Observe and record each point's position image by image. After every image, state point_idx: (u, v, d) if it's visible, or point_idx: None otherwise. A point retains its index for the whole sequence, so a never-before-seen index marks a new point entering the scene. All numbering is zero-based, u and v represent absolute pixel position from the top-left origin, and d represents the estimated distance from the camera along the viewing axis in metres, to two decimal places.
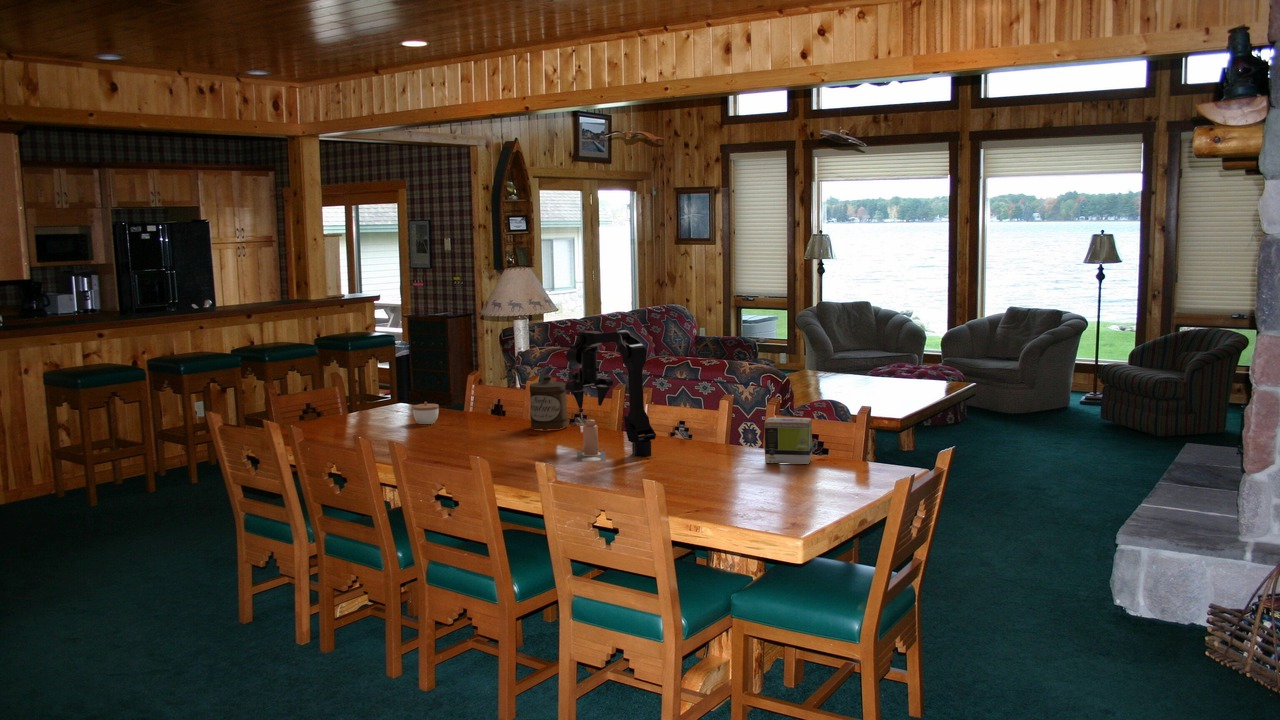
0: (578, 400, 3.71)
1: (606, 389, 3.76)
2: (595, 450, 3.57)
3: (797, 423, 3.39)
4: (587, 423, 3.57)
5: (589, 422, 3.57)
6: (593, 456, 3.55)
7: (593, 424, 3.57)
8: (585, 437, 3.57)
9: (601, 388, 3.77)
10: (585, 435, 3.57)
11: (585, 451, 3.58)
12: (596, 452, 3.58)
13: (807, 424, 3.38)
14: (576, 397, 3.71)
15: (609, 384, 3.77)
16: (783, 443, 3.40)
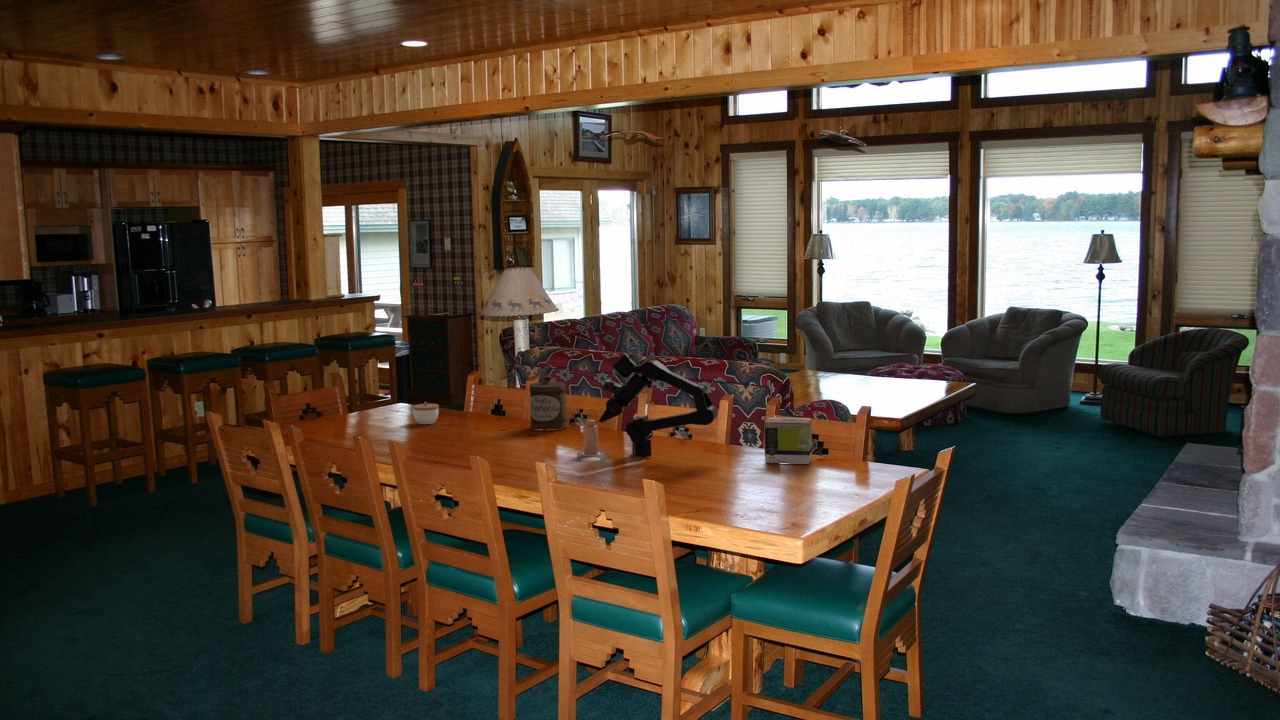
0: (606, 416, 3.50)
1: None
2: (595, 450, 3.57)
3: (797, 423, 3.39)
4: (587, 423, 3.57)
5: (589, 422, 3.57)
6: (593, 456, 3.55)
7: (593, 424, 3.57)
8: (585, 437, 3.57)
9: None
10: (585, 435, 3.57)
11: (585, 451, 3.58)
12: (596, 452, 3.58)
13: (807, 424, 3.38)
14: (606, 412, 3.50)
15: None
16: (783, 443, 3.40)
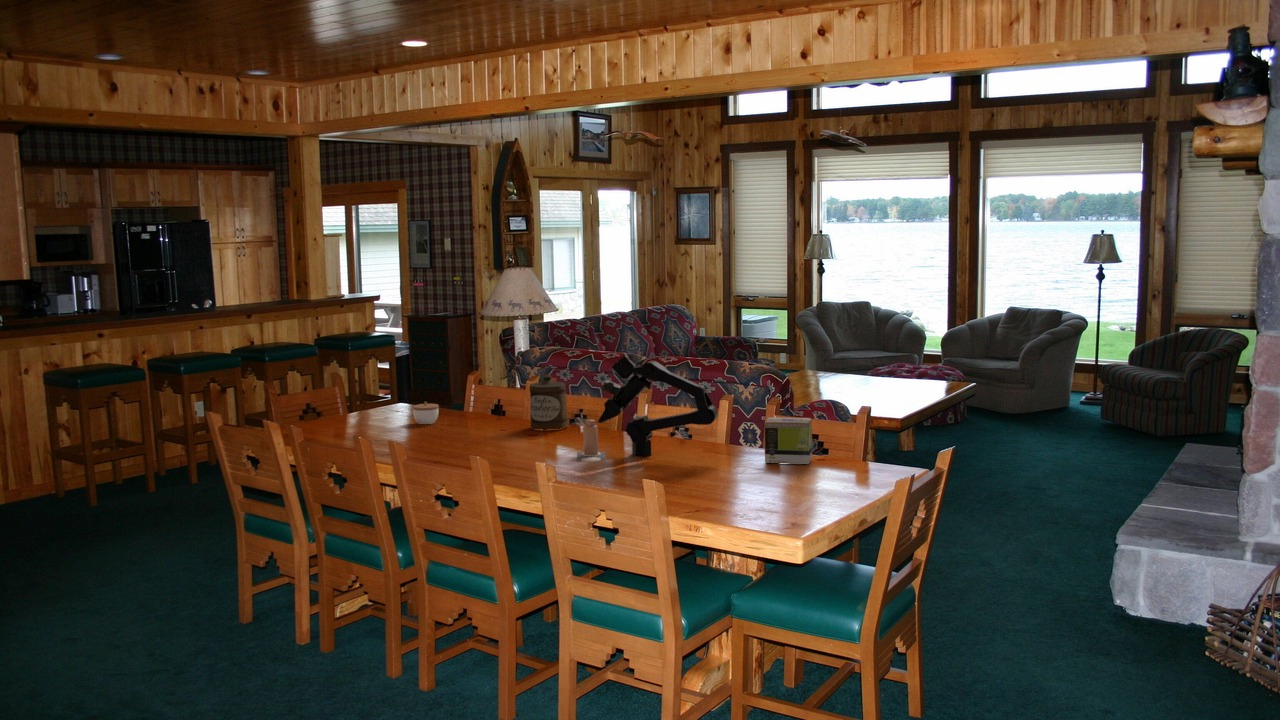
0: (605, 417, 3.51)
1: (622, 410, 3.61)
2: (595, 450, 3.57)
3: (797, 423, 3.39)
4: (587, 423, 3.57)
5: (589, 422, 3.57)
6: (593, 456, 3.55)
7: (593, 424, 3.57)
8: (585, 437, 3.57)
9: None
10: (585, 435, 3.57)
11: (585, 451, 3.58)
12: (596, 452, 3.58)
13: (807, 424, 3.38)
14: (605, 413, 3.51)
15: None
16: (783, 443, 3.40)
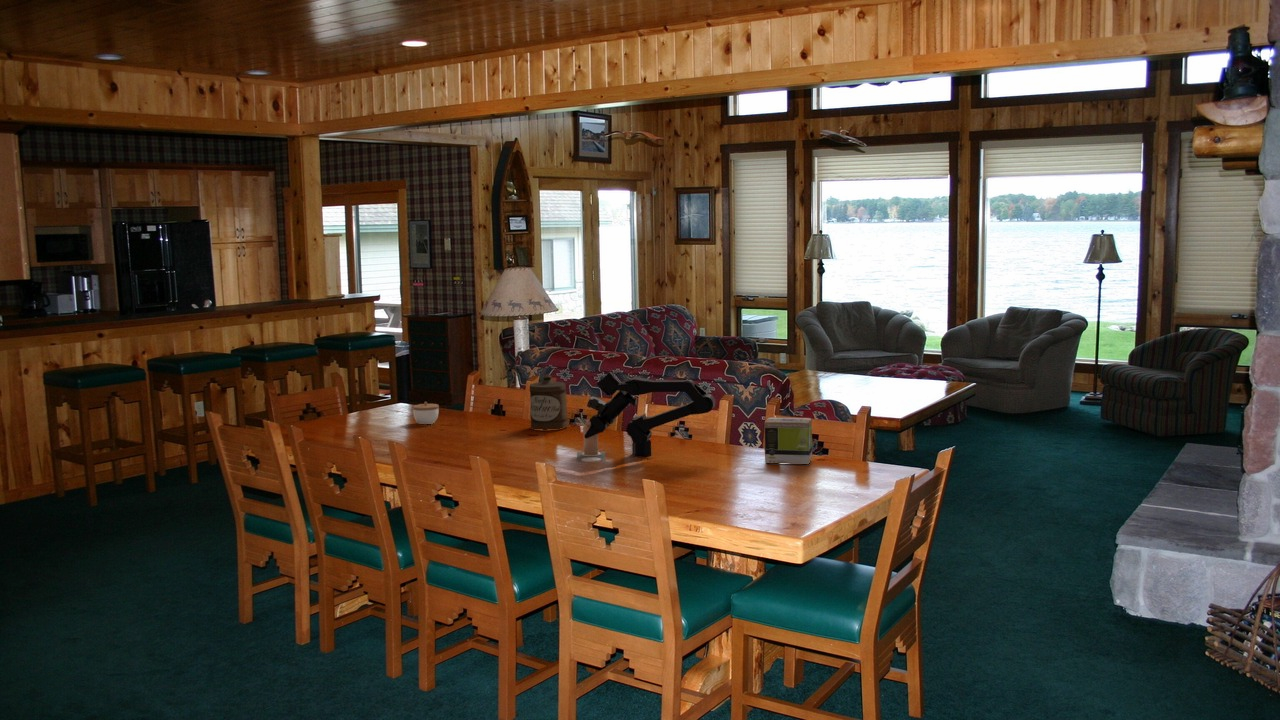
0: (591, 432, 3.55)
1: (606, 427, 3.61)
2: (595, 450, 3.57)
3: (797, 423, 3.39)
4: (587, 423, 3.57)
5: (589, 422, 3.57)
6: (593, 456, 3.55)
7: None
8: None
9: None
10: None
11: (585, 451, 3.58)
12: (596, 452, 3.58)
13: (807, 424, 3.38)
14: (591, 428, 3.54)
15: None
16: (783, 443, 3.40)
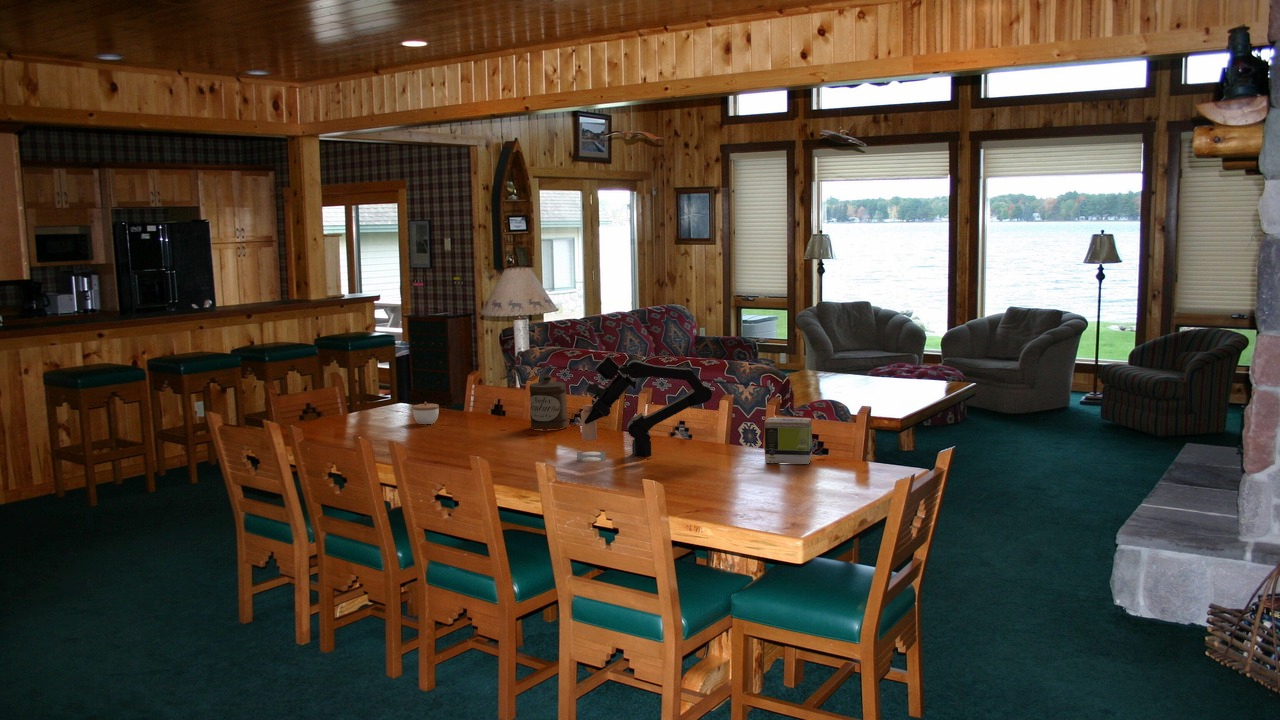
0: (592, 417, 3.50)
1: None
2: (594, 435, 3.53)
3: (797, 423, 3.39)
4: (586, 408, 3.52)
5: (588, 407, 3.51)
6: (593, 456, 3.55)
7: None
8: (584, 423, 3.52)
9: None
10: None
11: (584, 437, 3.52)
12: (595, 437, 3.53)
13: (807, 424, 3.38)
14: (592, 413, 3.49)
15: None
16: (783, 443, 3.40)
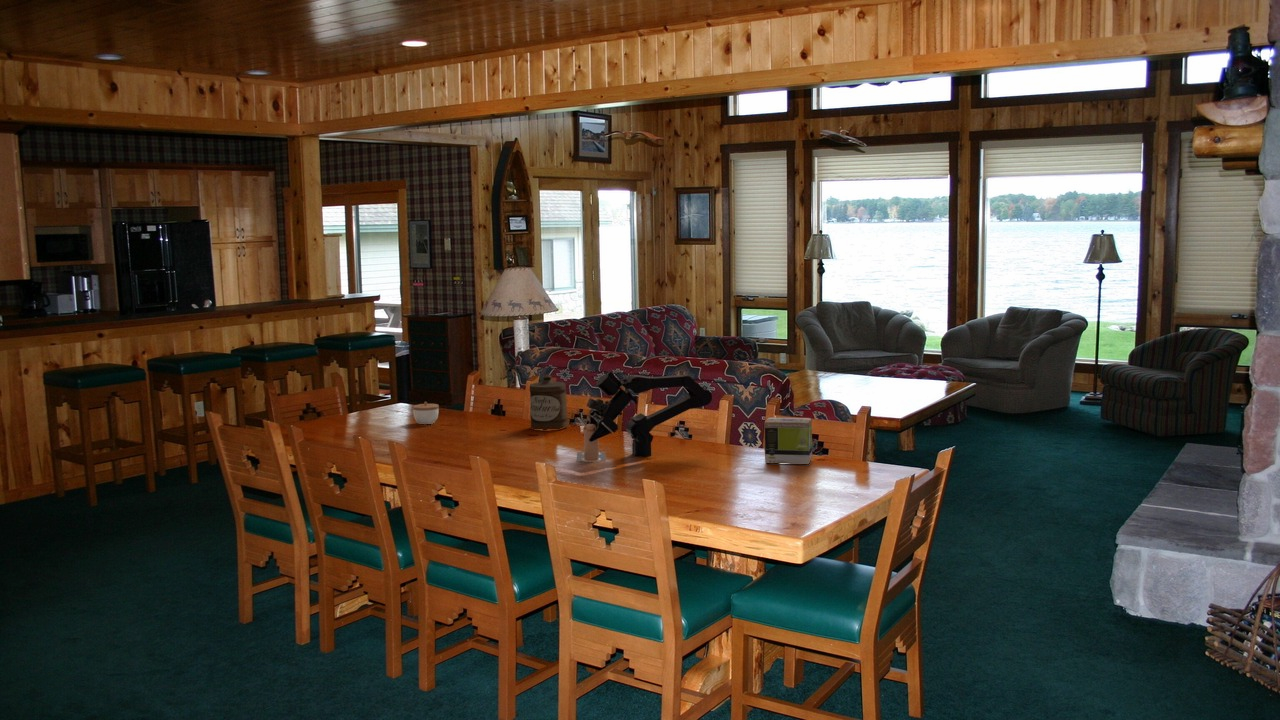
0: (597, 435, 3.45)
1: None
2: (597, 454, 3.49)
3: (797, 423, 3.39)
4: (589, 428, 3.48)
5: (592, 427, 3.48)
6: None
7: (595, 428, 3.49)
8: (588, 442, 3.48)
9: (596, 423, 3.55)
10: (588, 440, 3.47)
11: (588, 457, 3.48)
12: (598, 457, 3.50)
13: (807, 424, 3.38)
14: (598, 431, 3.45)
15: None
16: (783, 443, 3.40)
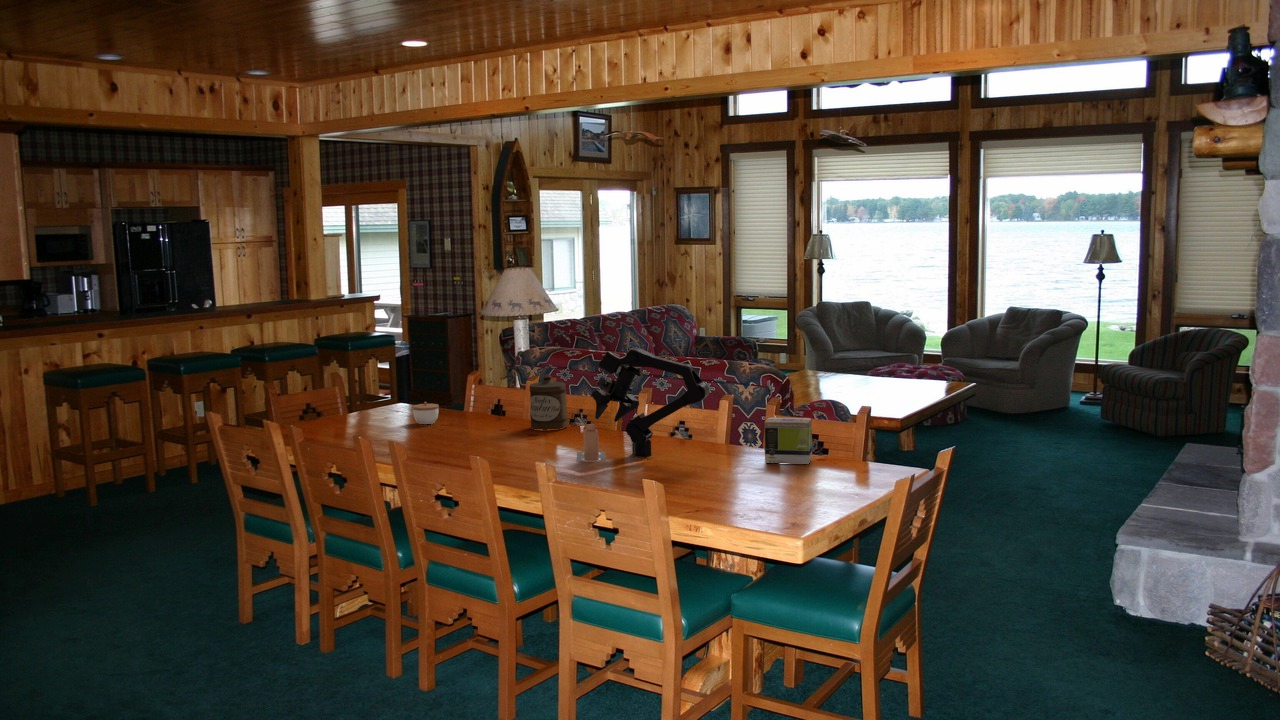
0: (598, 411, 3.53)
1: (629, 410, 3.59)
2: (597, 454, 3.49)
3: (797, 423, 3.39)
4: (589, 428, 3.48)
5: (592, 427, 3.48)
6: None
7: None
8: (588, 442, 3.48)
9: (624, 406, 3.60)
10: (588, 440, 3.47)
11: (588, 457, 3.48)
12: (598, 457, 3.50)
13: (807, 424, 3.38)
14: (597, 407, 3.54)
15: (634, 406, 3.59)
16: (783, 443, 3.40)
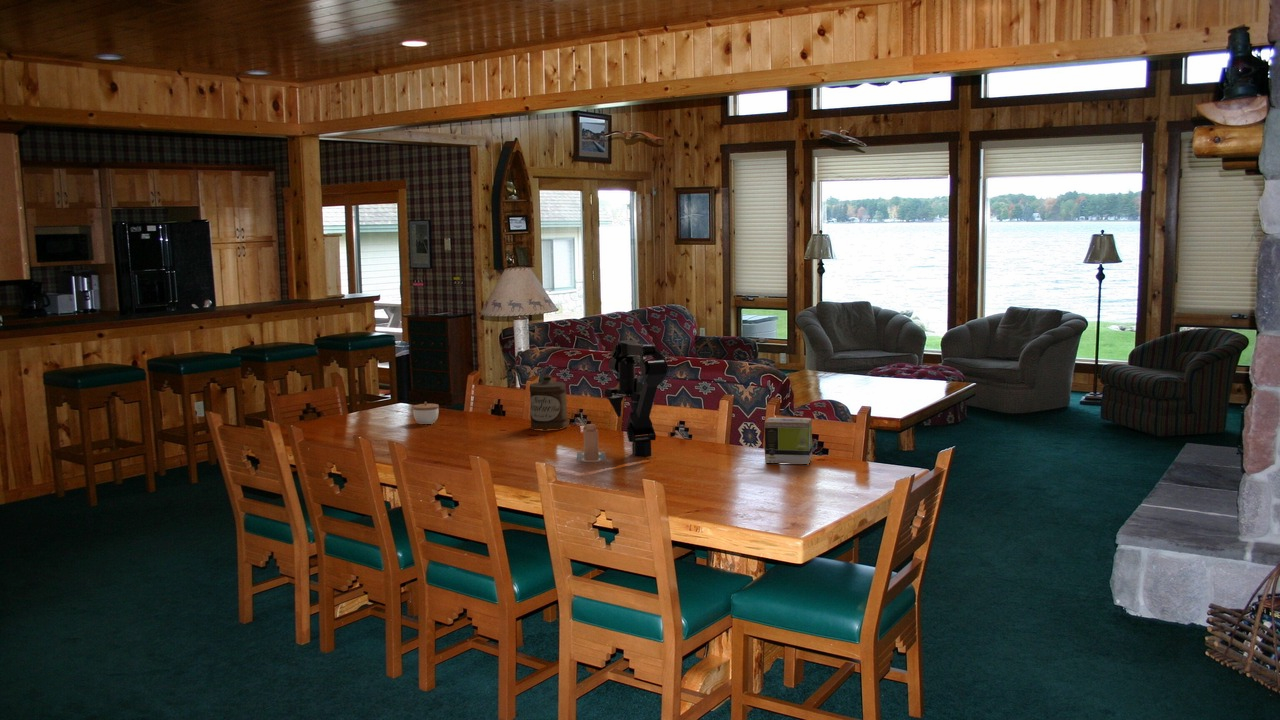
0: None
1: (631, 403, 3.60)
2: (597, 454, 3.49)
3: (797, 423, 3.39)
4: (589, 428, 3.48)
5: (591, 427, 3.48)
6: None
7: None
8: (588, 442, 3.48)
9: None
10: (588, 440, 3.47)
11: (588, 457, 3.48)
12: (598, 457, 3.50)
13: (807, 424, 3.38)
14: None
15: (633, 399, 3.58)
16: (783, 443, 3.40)
